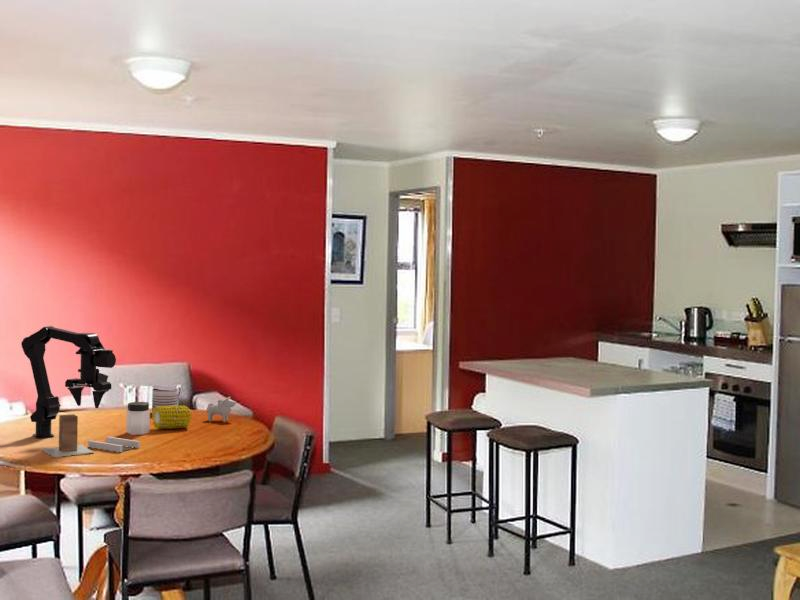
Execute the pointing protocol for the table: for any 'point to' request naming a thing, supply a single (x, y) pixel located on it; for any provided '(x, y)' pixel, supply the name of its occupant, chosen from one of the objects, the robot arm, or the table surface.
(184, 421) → the food
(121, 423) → the table surface
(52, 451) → the plate
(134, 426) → the jar
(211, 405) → the dog figurine
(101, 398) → the robot arm
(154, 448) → the table surface
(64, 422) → the post
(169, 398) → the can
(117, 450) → the channel
